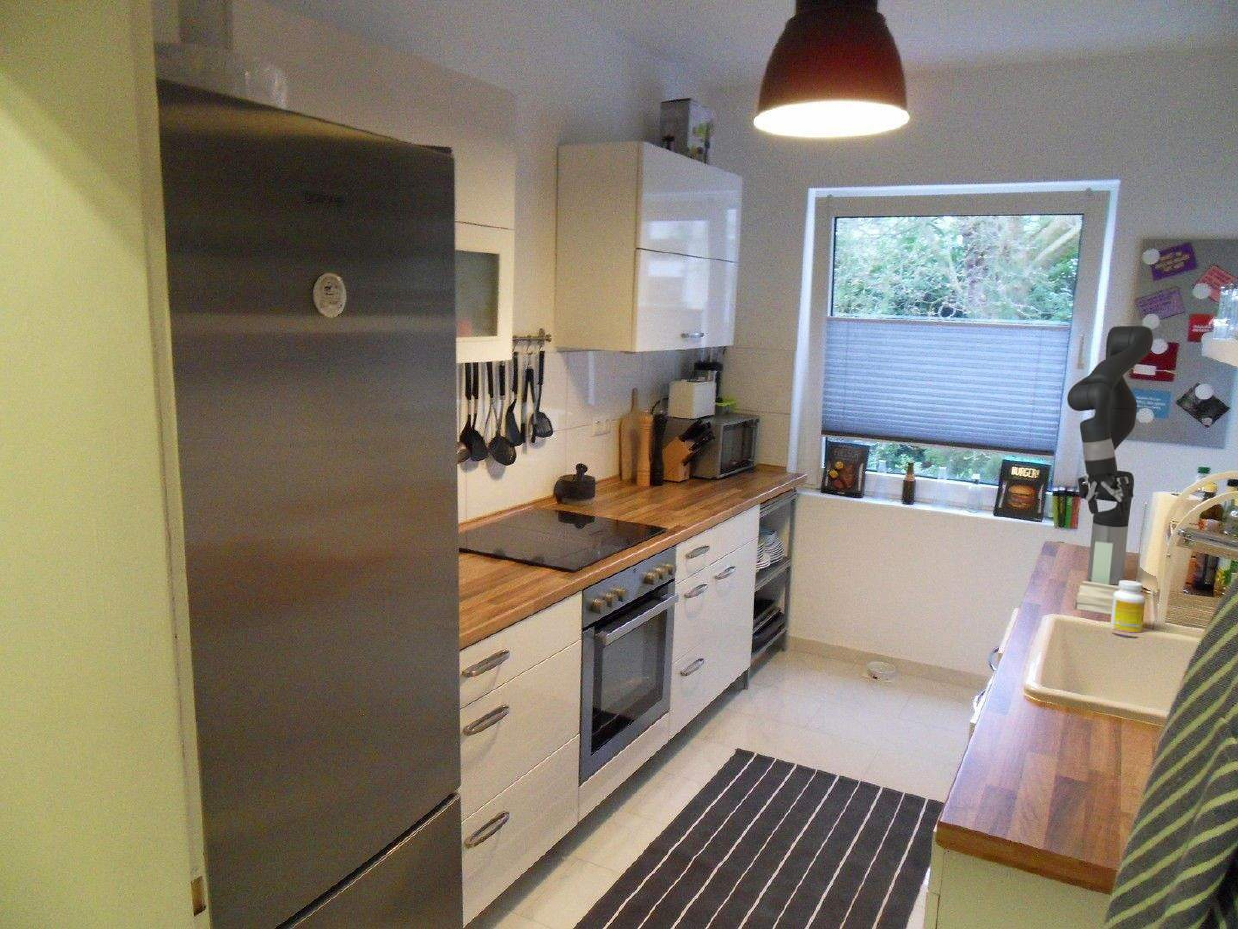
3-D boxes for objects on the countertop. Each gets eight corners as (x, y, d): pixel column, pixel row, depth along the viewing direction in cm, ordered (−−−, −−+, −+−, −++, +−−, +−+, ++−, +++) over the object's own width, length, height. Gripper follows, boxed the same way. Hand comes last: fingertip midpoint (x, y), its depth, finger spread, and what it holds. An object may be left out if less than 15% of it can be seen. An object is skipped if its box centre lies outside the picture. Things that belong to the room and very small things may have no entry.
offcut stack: (1077, 602, 230) (1079, 580, 229) (1118, 608, 225) (1120, 586, 224) (1074, 609, 223) (1076, 586, 223) (1117, 615, 218) (1119, 592, 218)
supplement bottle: (1145, 640, 204) (1151, 587, 203) (1115, 638, 206) (1120, 585, 204) (1135, 631, 211) (1140, 580, 209) (1105, 629, 212) (1110, 578, 211)
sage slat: (1090, 599, 232) (1095, 541, 230) (1107, 602, 230) (1113, 543, 228) (1089, 601, 231) (1095, 542, 228) (1106, 604, 228) (1112, 544, 226)
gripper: (1133, 452, 232) (1142, 511, 233) (1085, 454, 245) (1094, 509, 246) (1114, 458, 229) (1124, 518, 230) (1067, 459, 242) (1076, 516, 243)
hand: (1109, 513), depth 238 cm, fingers open, 8 cm apart
